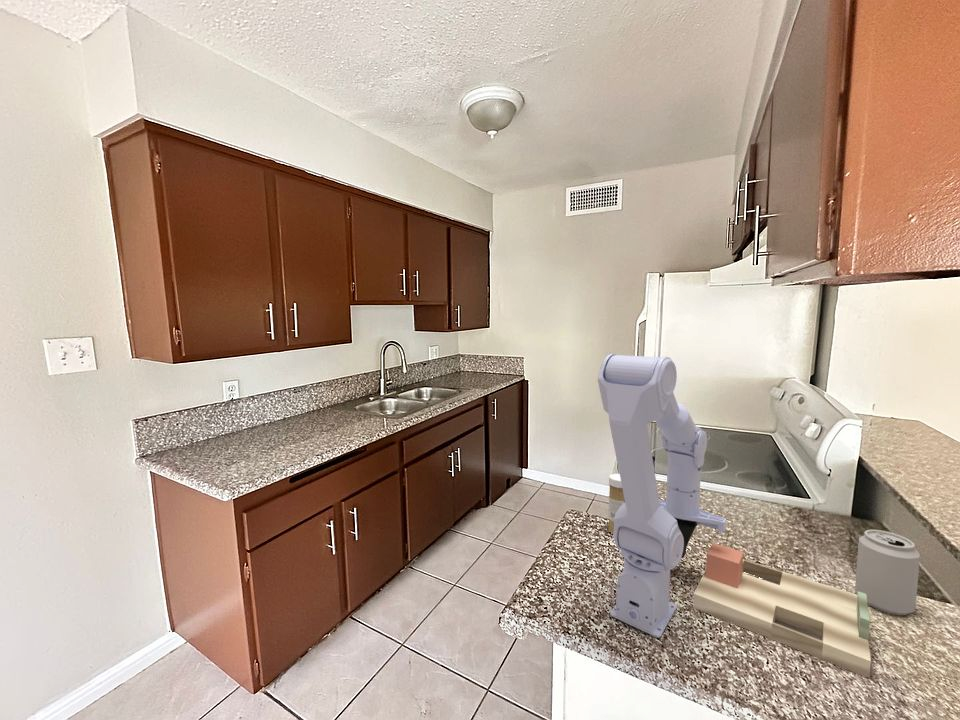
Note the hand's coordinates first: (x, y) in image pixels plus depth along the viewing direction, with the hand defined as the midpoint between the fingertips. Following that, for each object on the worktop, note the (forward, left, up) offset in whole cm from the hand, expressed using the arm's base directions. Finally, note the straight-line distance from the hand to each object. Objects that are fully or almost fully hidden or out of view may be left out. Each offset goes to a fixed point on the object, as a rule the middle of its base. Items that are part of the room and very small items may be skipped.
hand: (680, 554), depth 80 cm
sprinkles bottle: (+8, +16, -4) cm, 18 cm away
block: (0, -7, -1) cm, 8 cm away
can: (+14, -29, -4) cm, 33 cm away
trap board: (0, -15, -4) cm, 16 cm away
